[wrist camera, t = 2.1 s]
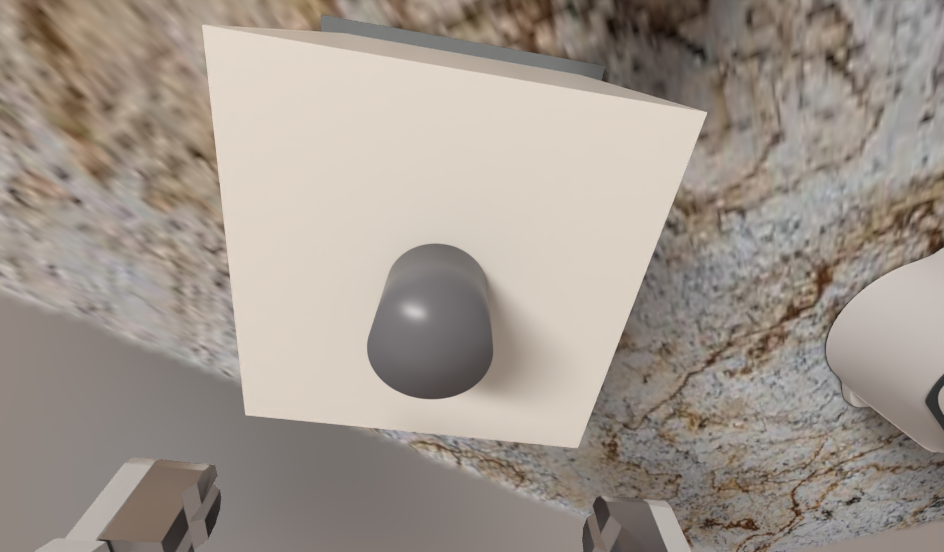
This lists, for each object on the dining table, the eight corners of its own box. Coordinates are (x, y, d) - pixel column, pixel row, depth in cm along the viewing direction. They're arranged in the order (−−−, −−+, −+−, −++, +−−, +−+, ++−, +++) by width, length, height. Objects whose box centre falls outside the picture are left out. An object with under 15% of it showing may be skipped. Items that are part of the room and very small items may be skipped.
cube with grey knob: (581, 74, 30) (785, 135, 11) (530, 278, 38) (599, 526, 18) (344, 33, 29) (105, 18, 10) (339, 252, 36) (200, 492, 17)
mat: (603, 65, 31) (605, 65, 30) (544, 285, 39) (545, 288, 38) (323, 15, 29) (321, 14, 28) (323, 255, 37) (321, 258, 36)
